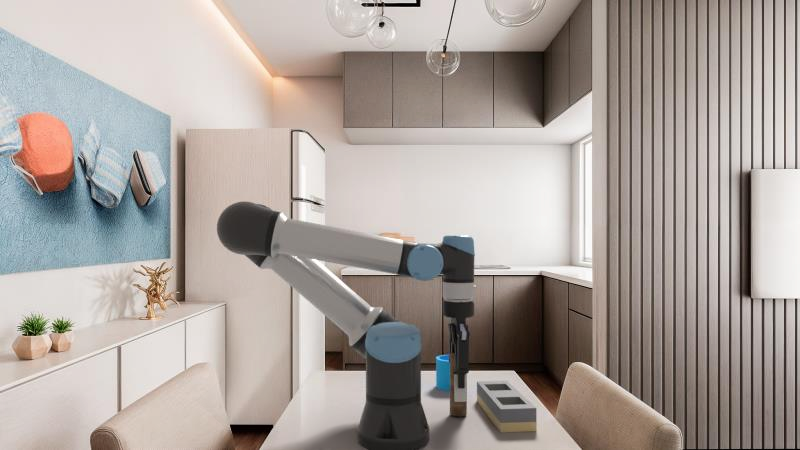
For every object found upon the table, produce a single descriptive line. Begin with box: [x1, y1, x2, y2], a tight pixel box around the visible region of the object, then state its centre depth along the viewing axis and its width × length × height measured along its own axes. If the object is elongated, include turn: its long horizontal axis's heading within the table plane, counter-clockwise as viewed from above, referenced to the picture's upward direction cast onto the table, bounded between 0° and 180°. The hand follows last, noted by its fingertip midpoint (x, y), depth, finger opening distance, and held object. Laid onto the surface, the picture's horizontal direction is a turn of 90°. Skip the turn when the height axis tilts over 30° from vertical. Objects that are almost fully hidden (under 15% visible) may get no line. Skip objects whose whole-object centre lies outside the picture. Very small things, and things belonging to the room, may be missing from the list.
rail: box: [476, 380, 538, 433], centre depth 126 cm, size 22×8×5 cm, turn 5°
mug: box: [435, 354, 450, 392], centre depth 152 cm, size 12×8×8 cm
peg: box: [449, 353, 468, 417], centre depth 126 cm, size 4×4×14 cm
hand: (458, 398), depth 126 cm, fingers closed on peg, 4 cm apart
